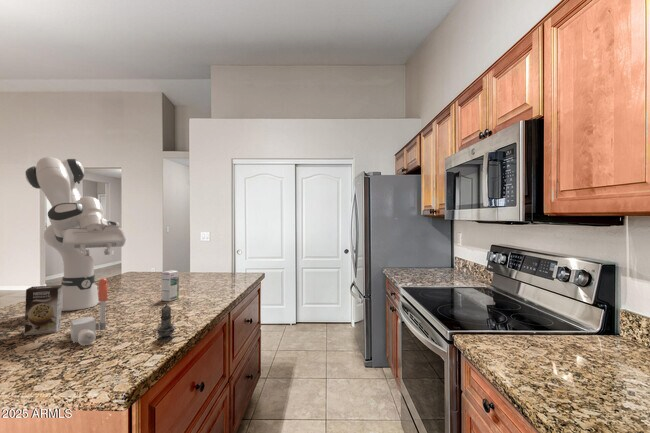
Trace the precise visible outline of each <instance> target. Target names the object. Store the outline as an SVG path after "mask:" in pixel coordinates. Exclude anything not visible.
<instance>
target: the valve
mask: <svg viewBox="0 0 650 433" xmlns="http://www.w3.org/2000/svg"><path fill="white" fill-rule="evenodd" d="M96 331H100V329H99V322H97V323H96V320H95V318H94V316H88V317H87V316H86V317H82V318H76V319H70V339H71V341H73V342H72V343H73V344H75V342H76V343H78V344H79V345H81V346H84V347H86V346H85V345H88V346H90V345H92V344H93V343H94V342H95V341H96V338H97V337H96V336H97V335H96Z"/></svg>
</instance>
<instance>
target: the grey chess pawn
mask: <svg viewBox="0 0 650 433" xmlns="http://www.w3.org/2000/svg"><path fill="white" fill-rule="evenodd" d="M171 314H172V308H171V306H168V303H165V306H163V307H162V308H161V316H160V319H161V320H160V326H158V327H157V328H156V331H157V335H158V337H157V339H156V340H157V342H167V341H172V340H173V339H175V336H174V335H172V334H173V333H174V331H175V329H176V326H175V325H172V317H173V315H171Z"/></svg>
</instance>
